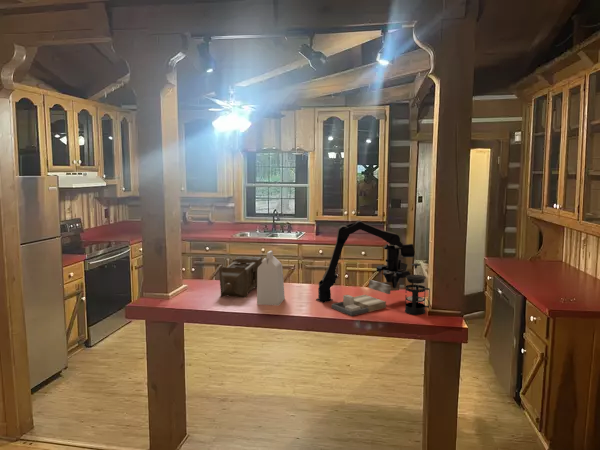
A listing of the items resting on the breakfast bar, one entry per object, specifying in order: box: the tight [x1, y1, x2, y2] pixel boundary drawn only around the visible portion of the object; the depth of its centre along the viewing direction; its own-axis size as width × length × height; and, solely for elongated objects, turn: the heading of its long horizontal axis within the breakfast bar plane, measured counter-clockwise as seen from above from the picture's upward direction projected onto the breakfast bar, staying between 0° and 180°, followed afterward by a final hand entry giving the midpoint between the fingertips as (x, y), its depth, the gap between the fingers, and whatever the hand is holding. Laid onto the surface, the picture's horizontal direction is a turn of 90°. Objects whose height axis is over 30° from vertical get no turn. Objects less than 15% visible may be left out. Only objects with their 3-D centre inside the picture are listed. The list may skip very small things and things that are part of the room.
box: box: [331, 301, 369, 317], centre depth 218 cm, size 15×10×2 cm
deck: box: [353, 294, 387, 313], centre depth 224 cm, size 15×11×3 cm
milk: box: [256, 250, 286, 306], centre depth 233 cm, size 12×12×26 cm
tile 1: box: [342, 294, 355, 306], centre depth 222 cm, size 5×5×2 cm
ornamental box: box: [218, 256, 263, 298], centre depth 250 cm, size 35×18×18 cm, turn 165°
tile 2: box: [345, 304, 360, 311], centre depth 214 cm, size 5×5×2 cm
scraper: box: [368, 279, 401, 295], centre depth 231 cm, size 14×14×4 cm
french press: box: [404, 263, 431, 316], centre depth 212 cm, size 12×9×23 cm
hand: (392, 287), depth 233 cm, fingers closed on scraper, 2 cm apart
